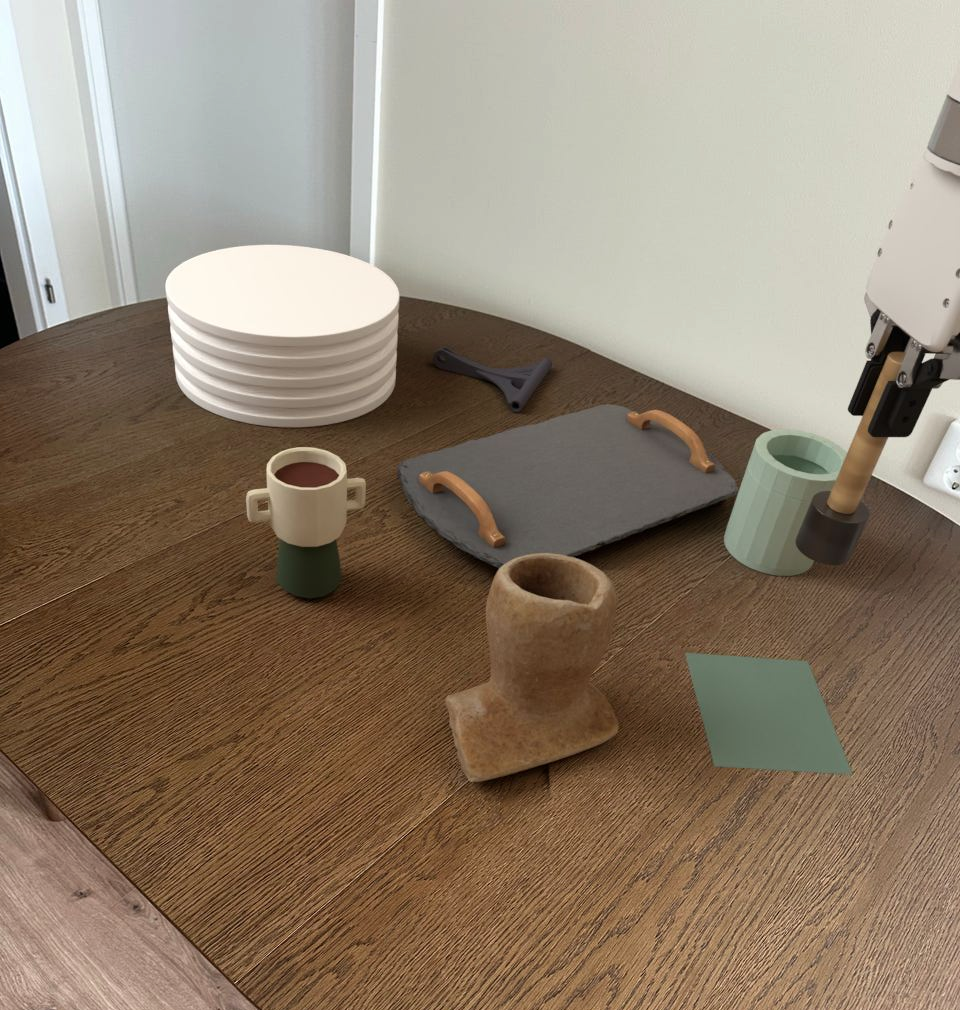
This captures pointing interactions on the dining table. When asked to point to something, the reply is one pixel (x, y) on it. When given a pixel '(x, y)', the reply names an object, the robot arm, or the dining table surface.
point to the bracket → (498, 375)
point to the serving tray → (564, 483)
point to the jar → (780, 499)
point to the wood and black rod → (847, 489)
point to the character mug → (307, 516)
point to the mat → (765, 715)
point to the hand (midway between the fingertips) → (878, 422)
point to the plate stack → (283, 334)
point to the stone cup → (538, 669)
